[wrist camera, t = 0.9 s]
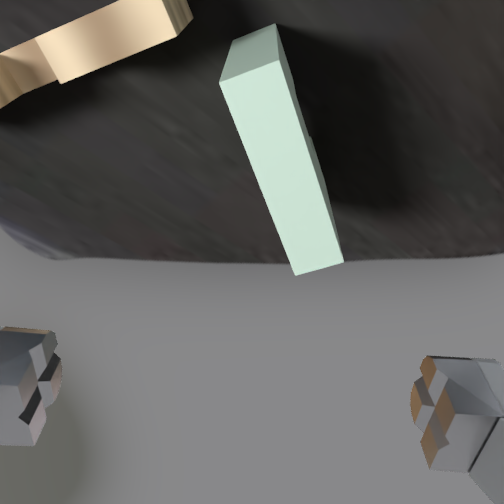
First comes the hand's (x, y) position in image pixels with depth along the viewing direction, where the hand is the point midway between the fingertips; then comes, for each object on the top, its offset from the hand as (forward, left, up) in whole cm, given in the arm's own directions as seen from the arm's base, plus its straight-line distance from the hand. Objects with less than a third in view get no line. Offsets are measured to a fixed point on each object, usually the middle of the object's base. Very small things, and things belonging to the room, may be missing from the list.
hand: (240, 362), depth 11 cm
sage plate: (0, +5, -33) cm, 33 cm away
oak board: (+15, -6, -33) cm, 36 cm away
